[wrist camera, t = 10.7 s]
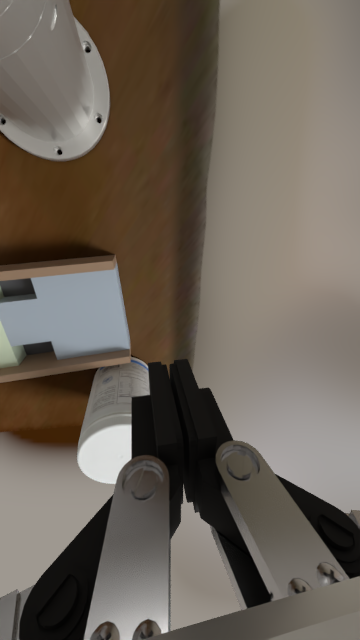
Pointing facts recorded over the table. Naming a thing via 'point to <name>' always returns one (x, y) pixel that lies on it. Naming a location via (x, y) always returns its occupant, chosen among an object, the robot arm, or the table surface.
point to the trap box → (61, 317)
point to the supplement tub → (110, 420)
